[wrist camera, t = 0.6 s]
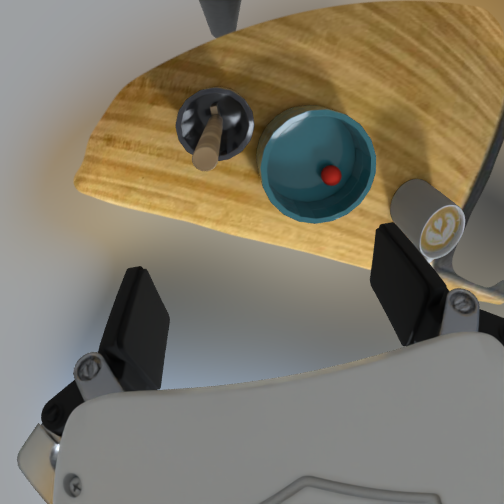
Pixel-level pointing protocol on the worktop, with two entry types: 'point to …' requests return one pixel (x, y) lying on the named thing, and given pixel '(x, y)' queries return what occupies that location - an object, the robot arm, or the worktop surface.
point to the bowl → (315, 163)
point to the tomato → (331, 175)
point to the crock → (231, 110)
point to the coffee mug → (427, 218)
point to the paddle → (209, 142)
